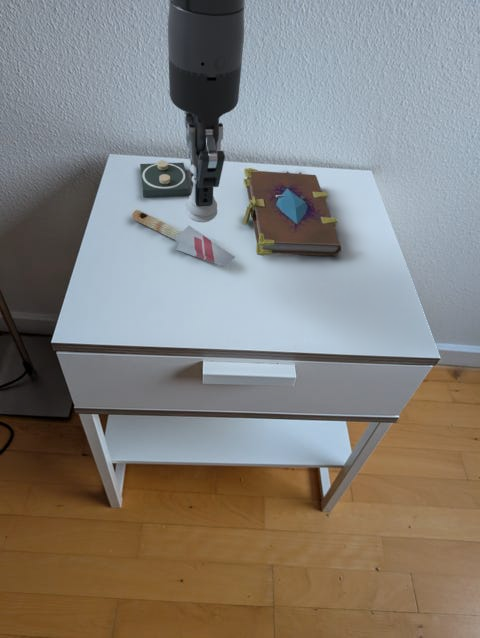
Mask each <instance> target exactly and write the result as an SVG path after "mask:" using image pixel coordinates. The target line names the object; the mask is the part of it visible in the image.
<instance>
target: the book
mask: <svg viewBox="0 0 480 638" xmlns="http://www.w3.org/2000/svg"><path fill="white" fill-rule="evenodd" d="M243 171H244V176H245V178H243V185H244V186H245V188H246V191H247V196H248V206H247V207H246V210H245V214H244V218H243V221H242V225H247V223H248V222H249V221H250V217H251V218H252V224H253V229H254V235H255V239H256V248H255V253H256V255H258V256H262V257H265V256H270V255H273V254H274V255H276V254H277V255H306V256H307V255H308V256H309V255H311V256H337V255H338V254H339V253H340V252H342V245H341V242H340V240H339V236H338V231H337V228H336V226H337V223H338V219H337V218H336V217H332V215H331V212H330V208H329V205H328V203H327V200H328V197H329V194H328V192H323V189H322V188H321V185H320V183H319V180H318V177H317V175H316V174H309V173H302V172H301V171H300V172H299V173H293V172H289V171H286V172H282V171H281V172H280V171H265V170H259V169H255V168H252V167H248V168H244V170H243Z"/></svg>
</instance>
